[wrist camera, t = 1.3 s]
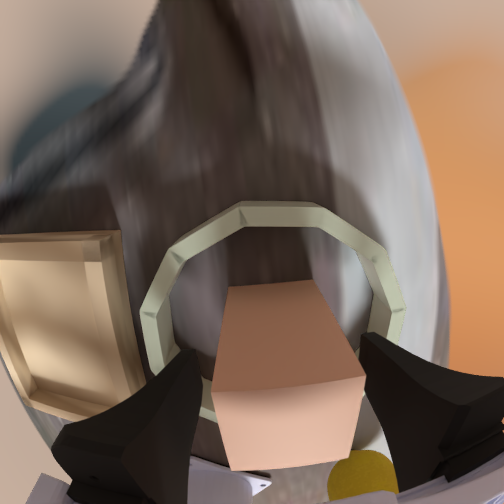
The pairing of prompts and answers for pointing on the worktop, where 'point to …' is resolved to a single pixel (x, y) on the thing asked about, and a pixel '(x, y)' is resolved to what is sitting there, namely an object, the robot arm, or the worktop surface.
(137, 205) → the worktop surface
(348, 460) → the lemon
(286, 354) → the pink block
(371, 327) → the ceramic ring
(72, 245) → the birch tray
